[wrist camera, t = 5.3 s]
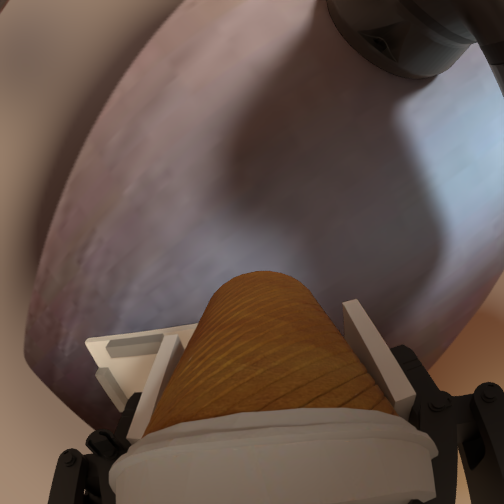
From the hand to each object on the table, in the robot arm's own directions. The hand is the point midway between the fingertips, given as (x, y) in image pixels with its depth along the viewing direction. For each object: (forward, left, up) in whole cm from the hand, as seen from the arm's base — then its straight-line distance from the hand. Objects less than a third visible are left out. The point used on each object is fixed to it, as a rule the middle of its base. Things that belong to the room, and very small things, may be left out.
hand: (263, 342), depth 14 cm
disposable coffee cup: (0, 0, -2) cm, 2 cm away
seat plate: (+15, +14, -14) cm, 25 cm away
